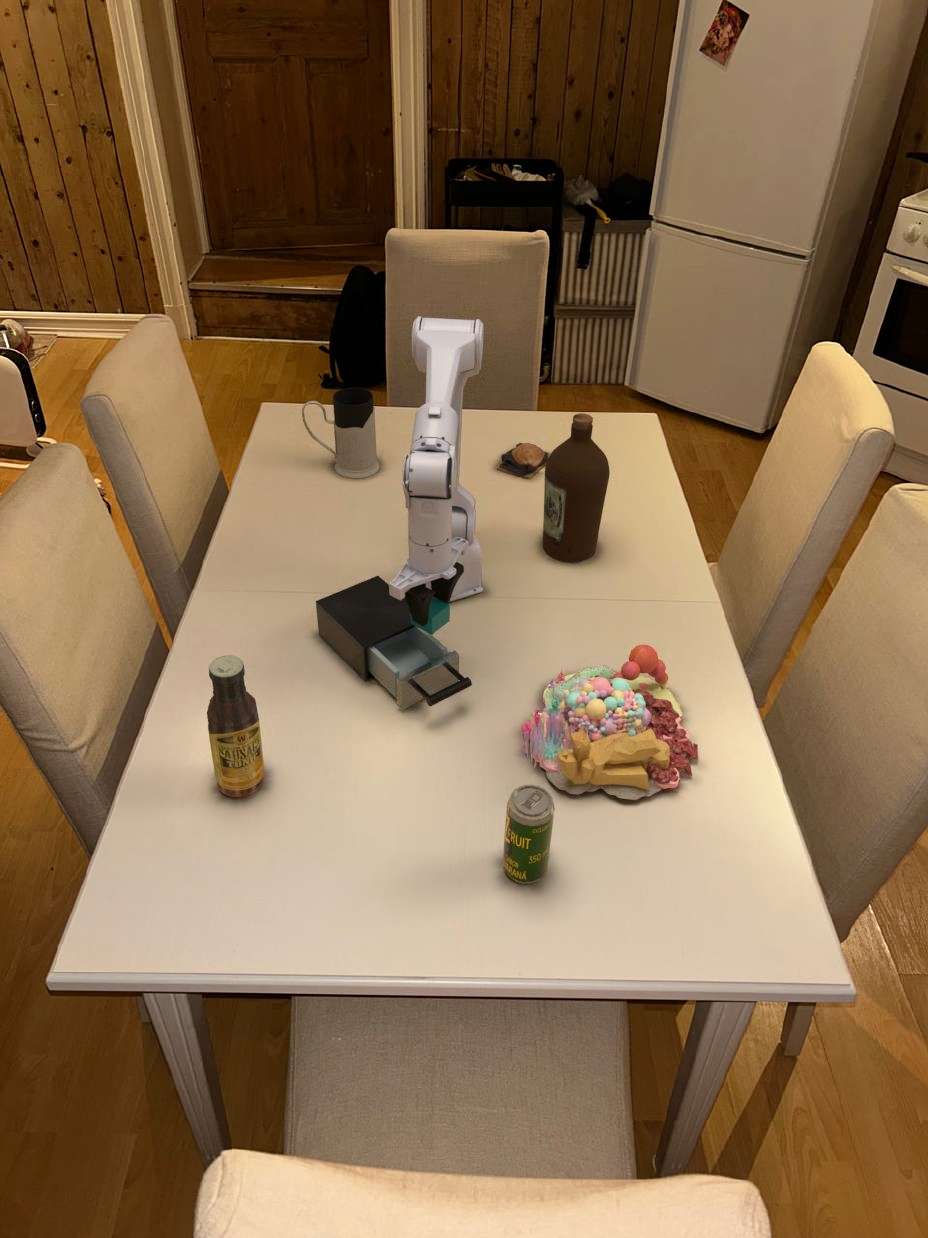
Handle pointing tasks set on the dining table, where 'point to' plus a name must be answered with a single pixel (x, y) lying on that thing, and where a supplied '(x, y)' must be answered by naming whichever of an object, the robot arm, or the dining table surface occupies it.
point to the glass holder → (352, 432)
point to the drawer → (416, 668)
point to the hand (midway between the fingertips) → (429, 614)
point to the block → (435, 616)
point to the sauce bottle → (234, 730)
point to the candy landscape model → (612, 730)
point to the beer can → (528, 833)
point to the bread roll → (523, 460)
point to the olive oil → (574, 494)
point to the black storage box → (361, 621)
